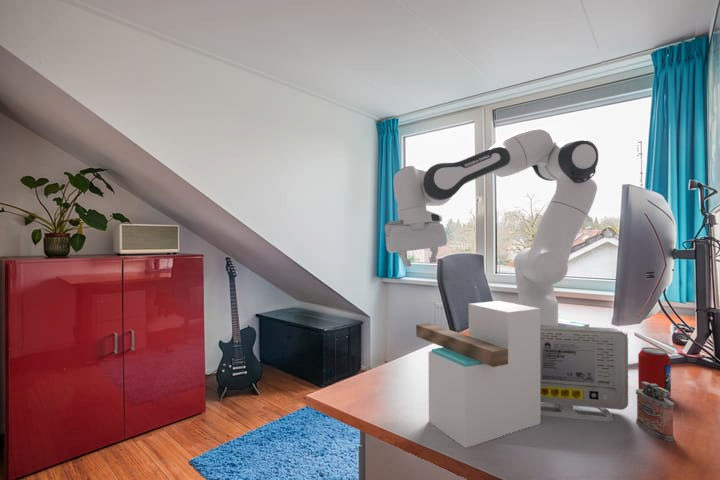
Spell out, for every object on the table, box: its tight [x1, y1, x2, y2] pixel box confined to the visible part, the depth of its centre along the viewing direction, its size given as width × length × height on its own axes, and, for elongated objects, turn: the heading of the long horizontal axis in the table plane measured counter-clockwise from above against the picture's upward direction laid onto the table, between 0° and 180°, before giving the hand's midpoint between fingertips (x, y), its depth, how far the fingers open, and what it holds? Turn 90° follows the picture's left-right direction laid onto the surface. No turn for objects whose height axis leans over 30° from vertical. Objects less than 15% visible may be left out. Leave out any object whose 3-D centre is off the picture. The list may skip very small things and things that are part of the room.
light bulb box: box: [558, 318, 590, 327], centre depth 137 cm, size 11×7×11 cm, turn 40°
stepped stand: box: [428, 300, 542, 449], centre depth 84 cm, size 12×22×26 cm, turn 116°
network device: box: [540, 325, 629, 422], centre depth 90 cm, size 26×9×20 cm, turn 77°
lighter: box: [635, 382, 675, 442], centre depth 80 cm, size 8×3×10 cm, turn 5°
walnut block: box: [415, 322, 508, 367], centre depth 84 cm, size 26×4×3 cm, turn 26°
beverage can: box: [637, 346, 672, 399], centre depth 98 cm, size 7×7×12 cm
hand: (420, 264), depth 111 cm, fingers open, 8 cm apart
